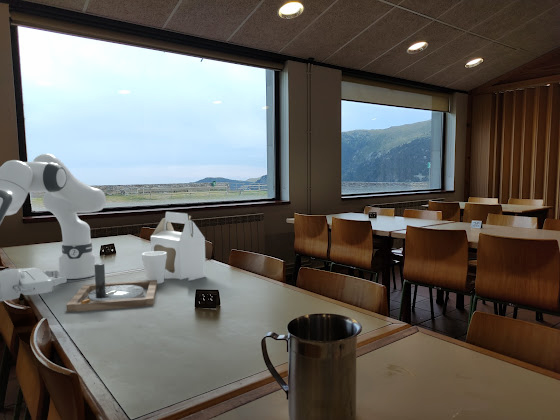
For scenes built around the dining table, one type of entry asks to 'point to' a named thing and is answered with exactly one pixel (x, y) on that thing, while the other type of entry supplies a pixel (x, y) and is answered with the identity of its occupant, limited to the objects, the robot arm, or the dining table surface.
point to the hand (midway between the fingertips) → (62, 276)
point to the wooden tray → (86, 305)
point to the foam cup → (154, 265)
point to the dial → (112, 288)
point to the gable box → (180, 247)
